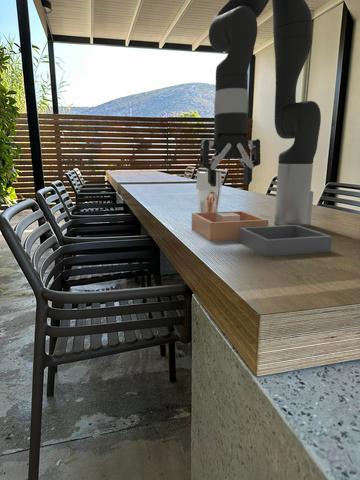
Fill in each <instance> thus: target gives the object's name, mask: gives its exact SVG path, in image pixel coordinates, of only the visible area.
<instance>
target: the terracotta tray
mask: <svg viewBox="0 0 360 480" xmlns="http://www.w3.org/2000/svg"><path fill="white" fill-rule="evenodd" d="M216 213H235V214H238V215H240V221H226V222H216ZM265 226H269V219H266V218H263V217H260V216H257V215H255V214H252V213H249V212H246V211H243V210H234V211H232V210H231V211H218V212H207V213H199V212H192V213H191V231H194V232H196V233H197V234H199V235H200V236H202V237H203V238H204V239H206V240H207V241H209V242H214V241H215V242H217V241H232V240H233V241H234V240H239V228H247V227H265Z"/></svg>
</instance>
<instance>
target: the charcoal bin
mask: <svg viewBox="0 0 360 480" xmlns="http://www.w3.org/2000/svg"><path fill="white" fill-rule="evenodd" d="M238 242H239V243H241V244H243V246H244V245H245V246H246V247H248V248H250V249H251V250H253V251H255V252H257V253H258V254H260V255H262V256H264V257H279V256H293V255H294V256H295V255H304V254H317V253H330V252H332V243H333V236H332V235H328V234H326V233H323V232H320V231H317V230H313V229H310V228H307V227H304V226H301V225H299V224H298V225H268V226H265V227H247V228H239V239H238Z"/></svg>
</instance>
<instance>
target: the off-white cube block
mask: <svg viewBox="0 0 360 480" xmlns="http://www.w3.org/2000/svg"><path fill="white" fill-rule="evenodd" d="M226 221H240V215H238V214H235V213H216V222H226Z"/></svg>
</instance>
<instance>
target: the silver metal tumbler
mask: <svg viewBox="0 0 360 480" xmlns="http://www.w3.org/2000/svg"><path fill="white" fill-rule="evenodd" d="M195 190H196V191H195V192H196V198H197V206H198V213H207V212H219V206H220V203H221V197H222V172H221V171H216V186H215V187H212V186H210V184H209V183H208V171H197V173H196V189H195Z"/></svg>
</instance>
